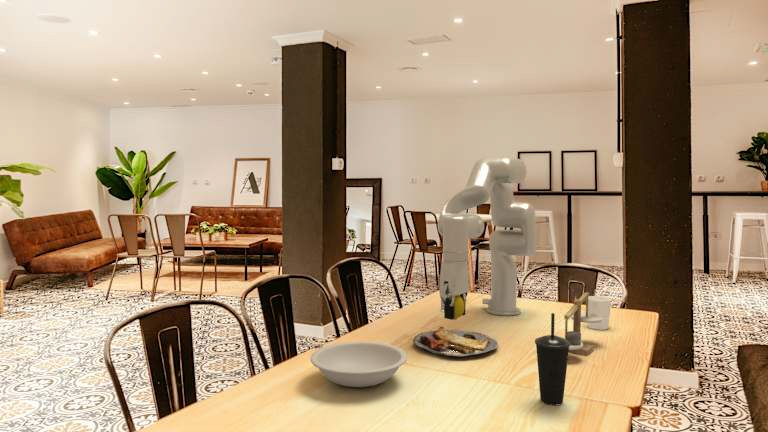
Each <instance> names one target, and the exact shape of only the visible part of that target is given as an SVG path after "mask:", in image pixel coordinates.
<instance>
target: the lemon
mask: <svg viewBox="0 0 768 432" xmlns="http://www.w3.org/2000/svg"><path fill="white" fill-rule="evenodd" d="M449 300H451V298H450V297H449ZM453 306H455V308H454V319H453V320H454V321H457V319H459V318H461V317H462V316H463V315H462V314H463V313H464V301H463V299H462V298H461V297H460V296H459V295H457V296H455V298H454V303H453Z"/></svg>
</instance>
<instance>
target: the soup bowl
mask: <svg viewBox="0 0 768 432" xmlns="http://www.w3.org/2000/svg"><path fill="white" fill-rule="evenodd" d="M407 361H408V354H407V352H406V351H405V350H404V349H402V348H400V347H397V346H395V345H393V344H389V343H383V342H378V341H363V340H361V341H360V340H359V341H347V342H338V343H334V344H328V345H327V346H323V347H321V348H318V349H317V350H315V351H313V353H311V355H310V362H311V364H312V365H313V366H314V367H316V368H317V369H319V371H320V372H321V373H322V374H323V376H324V377H326V378H327V379H328V380H329V381H331V382H333V383H335V384H337V385H340V386H343V387H350V388H351V387H352V388H366V387H372V386H377V385H379V384H382V383H384V382H386V381H387V380H389V379H390V378H391V377H393V376H394V374H396V373H397V371H398V370H399V368H400V367H401V366H403V365H404V364H406V362H407Z"/></svg>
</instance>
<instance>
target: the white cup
mask: <svg viewBox="0 0 768 432" xmlns="http://www.w3.org/2000/svg"><path fill="white" fill-rule="evenodd" d="M611 302H612V299H611V298H609V297H605V296H599V295H589V297H588V313H590V314H596V315H599V316H602V317H603V321H602V322H599V323H586V325H587V328H589V329H592V330H598V331H600V330H602V331H605V330H607V329H609V325H610V323H609V322H610V317H611Z"/></svg>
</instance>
